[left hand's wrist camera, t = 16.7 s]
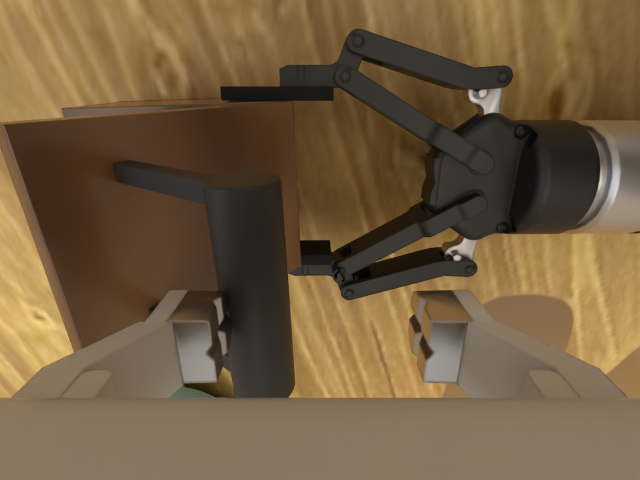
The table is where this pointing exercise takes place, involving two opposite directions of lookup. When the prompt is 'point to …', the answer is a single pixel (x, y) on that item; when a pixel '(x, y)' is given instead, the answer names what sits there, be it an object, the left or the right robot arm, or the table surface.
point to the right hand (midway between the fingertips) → (233, 179)
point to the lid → (168, 222)
